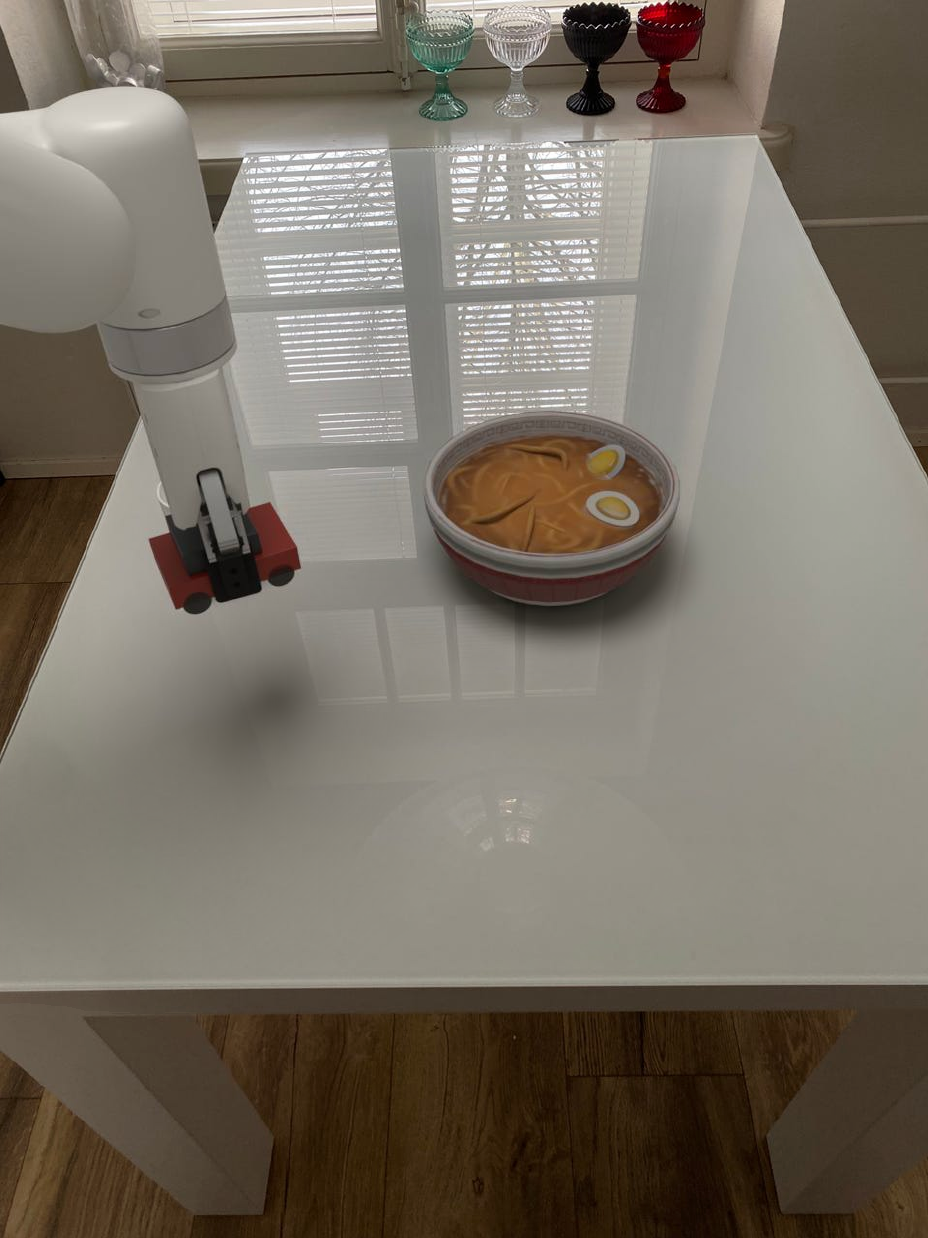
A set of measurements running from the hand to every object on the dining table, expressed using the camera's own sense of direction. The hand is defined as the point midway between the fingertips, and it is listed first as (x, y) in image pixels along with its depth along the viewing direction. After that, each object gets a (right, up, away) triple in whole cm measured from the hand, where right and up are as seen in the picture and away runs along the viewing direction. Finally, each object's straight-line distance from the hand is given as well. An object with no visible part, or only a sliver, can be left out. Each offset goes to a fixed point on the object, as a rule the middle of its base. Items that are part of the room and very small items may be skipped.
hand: (228, 563), depth 68 cm
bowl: (+25, +1, +24) cm, 35 cm away
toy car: (+1, -1, -3) cm, 3 cm away
